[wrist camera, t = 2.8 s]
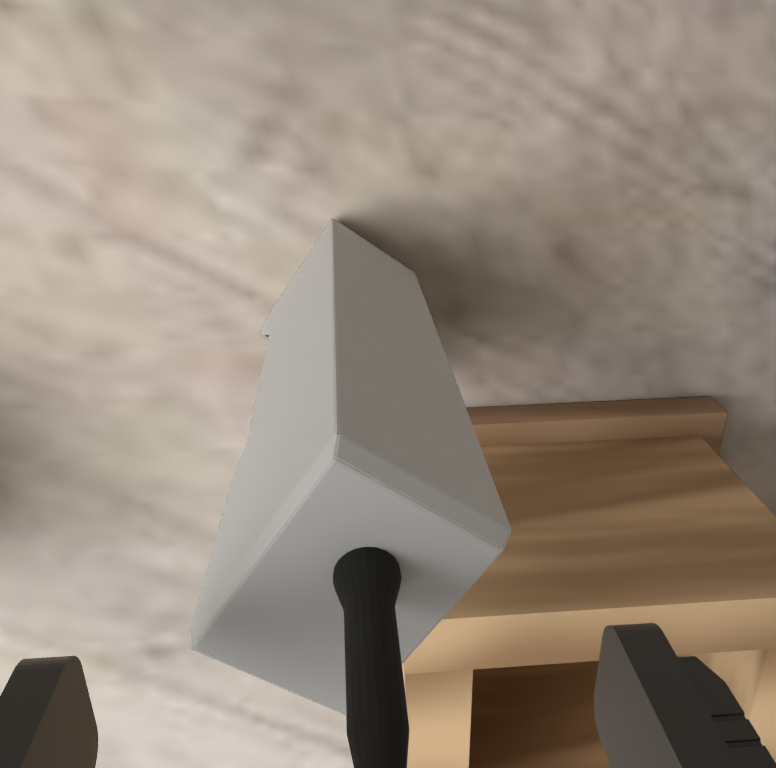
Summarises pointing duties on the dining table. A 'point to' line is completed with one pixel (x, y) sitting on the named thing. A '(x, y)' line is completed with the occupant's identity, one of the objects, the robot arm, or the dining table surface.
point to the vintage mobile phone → (349, 498)
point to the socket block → (596, 581)
